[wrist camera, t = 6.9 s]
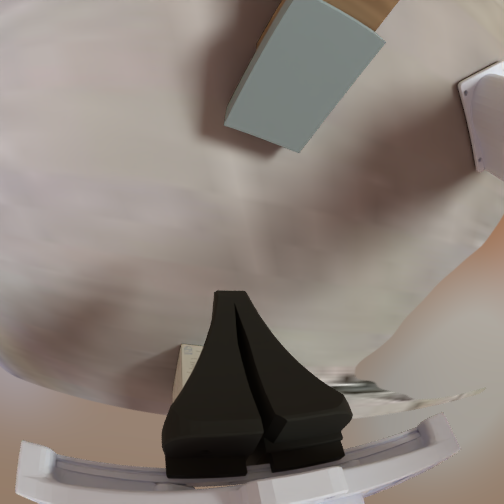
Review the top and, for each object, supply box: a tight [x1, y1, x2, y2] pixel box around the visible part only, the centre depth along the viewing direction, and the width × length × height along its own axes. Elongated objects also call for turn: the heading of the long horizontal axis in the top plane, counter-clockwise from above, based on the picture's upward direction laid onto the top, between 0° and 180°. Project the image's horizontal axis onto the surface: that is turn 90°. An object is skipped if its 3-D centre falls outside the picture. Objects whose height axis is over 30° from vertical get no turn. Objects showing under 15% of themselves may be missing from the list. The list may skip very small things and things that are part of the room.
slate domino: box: [224, 0, 386, 153], centre depth 14 cm, size 2×5×9 cm
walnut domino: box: [256, 0, 399, 51], centre depth 12 cm, size 2×5×9 cm
